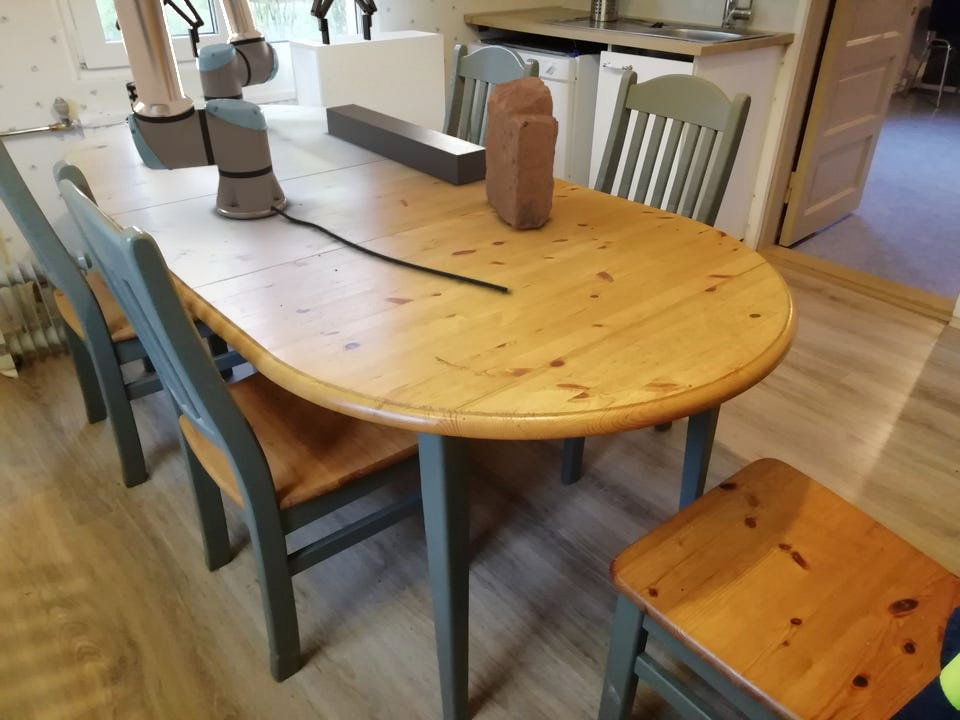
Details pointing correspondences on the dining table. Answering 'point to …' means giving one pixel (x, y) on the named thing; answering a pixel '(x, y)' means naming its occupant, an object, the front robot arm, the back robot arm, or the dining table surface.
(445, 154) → the wide beam
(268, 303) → the dining table surface
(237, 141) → the front robot arm
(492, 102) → the stone
